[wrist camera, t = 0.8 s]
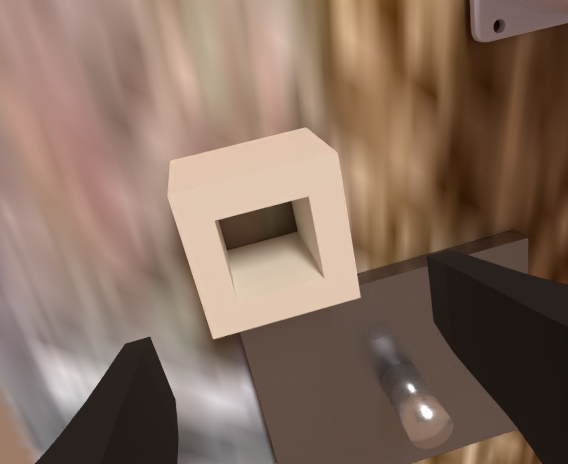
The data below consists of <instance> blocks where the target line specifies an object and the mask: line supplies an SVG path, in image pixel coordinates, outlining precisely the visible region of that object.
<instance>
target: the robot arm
mask: <svg viewBox="0 0 568 464" xmlns="http://www.w3.org/2000/svg"><path fill="white" fill-rule="evenodd" d="M470 16H471V33H472V37H473V38H474V40H476V41H478V42H490V41H494V40H499V39H503V38H507V37H511V36H515V35H520V34H524V33H528V32H532V31H536V30H540V29H545V28H549V27H553V26H557V25H561V24H566V23H568V0H470ZM496 20H498V21H499V23H500V26H499V29H498V31H497V32H495V31H494V29H493V26H494V23H495V21H496ZM427 265H428V274H429V284H430V293H431V303H432V312H433V321H434V323H435V325H436V326H437V328H438V329H439V331H440V333H441V334H442V336H443V338H444V339H445V341H446V342H447V344H448V345H449V347H450V348H451V350H452V351H453V353H454V354H455V355H456V356H457V357H458V359H459V360H460V361H461V362H462V363H463V365H464V366H465V367H466V368H467V369H468V371H469V372H470V373H471V374H472V375H473V376H474V378H475V379H476V380H477V381H478V382H479V383H480V385H481V386H482V387H483V388H484V389H485V390H486V391H487V393H488V394H489V395H490V396H491V397H492V398H493V400H494V401H495V402H496V403H497V404H498V405H499V407H500V408H501V409H502V410H503V411H504V412H505V414H506V415H507V416H508V417H509V418H510V420H511V421H512V422H513V423H514V425H515V426H516V427H517V428H518V430H519V431H520V432H521V434H522V435H523V436H524V438H525V439H526V441H527V442H528V444H529V445H530V446H531V448H532V449H533V451H534V452H535V454H536V455H537V456H538V458H539V459H540V461H541V462H542V464H568V285H565V284H562V283H558V282H554V281H550V280H547V279H543V278H539V277H536V276H532V275H529V274H526V273H522V272H519V271H516V270H513V269H510V268H506V267H503V266H500V265H497V264H494V263H491V262H488V261H485V260H482V259H479V258H476V257H473V256H470V255H467V254H464V253H460V252H457V251H453V250H446V251H442V252H439V253H435V254H432V255H429V256H427ZM177 458H178V424H177V412H176V401H175V398H174V395H173V393H172V390H171V388H170V385H169V383H168V380H167V378H166V375H165V373H164V370H163V368H162V365H161V363H160V360H159V358H158V355H157V353H156V350H155V348H154V345H153V343H152V340H151V338H150V337H147V338H144V339H140V340H137V341H133V342H130V343H127V344H125V345H124V346H123V348H122V349H121V351H120V352H119V354H118V355H117V356H116V358H115V359H114V361H113V362H112V364H111V366H110V367H109V369H108V370H107V372H106V373H105V375H104V376H103V377H102V379H101V380H100V382H99V383H98V385H97V386H96V388H95V389H94V390H93V392H92V393H91V395H90V396H89V398H88V399H87V401H86V402H85V403H84V405H83V406H82V407H81V408H80V410H79V411H78V412H77V414H76V415H75V416H74V418H73V419H72V420H71V421H70V423H69V424H68V425H67V427H66V428H65V429H64V431H63V432H62V433H61V435H60V436H59V437H58V438H57V439H56V441H55V442H54V443H53V444H52V445H51V446H50V448H49V449H48V450H47V451H46V452H45V453H44V454H43V455H42V457H41V458H40V459H39V460H38V461H37V462H36V463H35V464H177Z"/></svg>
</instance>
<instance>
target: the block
mask: <svg viewBox="0 0 568 464" xmlns="http://www.w3.org/2000/svg"><path fill="white" fill-rule="evenodd" d="M168 199H169V202H170V205H171V209H172V212H173V215H174V218H175V221H176V224H177V227H178V231H179V234H180V237H181V240H182V243H183V246H184V249H185V253H186V256H187V259H188V262H189V265H190V268H191V271H192V275H193V278H194V281H195V284H196V287H197V290H198V293H199V296H200V300H201V303H202V306H203V309H204V312H205V315H206V318H207V322H208V325H209V328H210V331H211V334H212V337H213V339H216V338H220V337H224V336H227V335H231V334H234V333H238V332H241V331H245V330H248V329H252V328H255V327H259V326H262V325H266V324H269V323H273V322H276V321H280V320H283V319H287V318H291V317H294V316H298V315H301V314H305V313H308V312H312V311H315V310H319V309H322V308H326V307H329V306H333V305H336V304H340V303H343V302H347V301H350V300H354V299H358V298H361V296H360V290H359V283H358V277H357V271H356V265H355V258H354V252H353V246H352V240H351V233H350V227H349V221H348V215H347V208H346V202H345V196H344V190H343V183H342V177H341V171H340V165H339V158H338V153H337V152H336V151H335V150H333V149H332V148H331V147H330V146H328V145H327V144H326V143H325V142H323V141H322V140H321V139H320V138H318V137H317V136H316V135H315V134H313V133H312V132H311V131H310V130H309V129H307V128H306V127H305V128H301V129H297V130H293V131H289V132H285V133H281V134H277V135H273V136H269V137H265V138H261V139H257V140H253V141H249V142H245V143H241V144H236V145H232V146H228V147H224V148H220V149H216V150H212V151H208V152H204V153H200V154H196V155H192V156H188V157H184V158H180V159H176V160H172V161H170V171H169V183H168ZM289 201H291V202H292V207H293V212H294V216H295V221H296V226H297V231H298V232H294V233H290V234H286V235H283V236H279V237H275V238H271V239H268V240H264V241H260V242H256V243H253V244H249V245H245V246H241V247H238V248H234V249H230V250H227V249H226V245H225V242H224V238H223V234H222V231H221V227H220V224H219V220H220V219H223V218H227V217H231V216H235V215H239V214H243V213H246V212H250V211H254V210H258V209H262V208H266V207H269V206H273V205H277V204H281V203H285V202H289Z"/></svg>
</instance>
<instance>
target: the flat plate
mask: <svg viewBox="0 0 568 464" xmlns="http://www.w3.org/2000/svg"><path fill="white" fill-rule="evenodd" d="M446 250H453V251H457V252H460V253H464V254H467V255H470V256H473V257H476V258H479V259H482V260H485V261H488V262H491V263H494V264H497V265H500V266H503V267H506V268H510V269H513V270H516V271H519V272H522V273H526V274H528V237H526V236H524V235H523V234H521V233H519V232H518V231H516V230H513V231H509V232H506V233H502V234H498V235H495V236H491V237H488V238H484V239H480V240H477V241H473V242H470V243H466V244H463V245H459V246H455V247H452V248H448V249H445V250H441V251H437V252H434V253H430V254H427V255H423V256H419V257H416V258H412V259H409V260H405V261H402V262H398V263H394V264H391V265H387V266H384V267H380V268H376V269H373V270H369V271H366V272H362V273H358V274H357V277H358V283H359V290H360V296H361V298H358V299H354V300H350V301H347V302H343V303H340V304H336V305H333V306H329V307H326V308H322V309H319V310H315V311H312V312H308V313H305V314H301V315H298V316H294V317H291V318H287V319H283V320H280V321H276V322H273V323H269V324H266V325H262V326H259V327H255V328H252V329H248V330H245V331H241V332H240V335H241V338H242V342H243V345H244V349H245V352H246V356H247V359H248V363H249V366H250V370H251V373H252V376H253V380H254V383H255V387H256V390H257V394H258V397H259V401H260V404H261V408H262V411H263V414H264V418H265V421H266V425H267V428H268V432H269V435H270V439H271V442H272V446H273V449H274V452H275V456H276V459H277V463H278V464H410V463H414V462H417V461H420V460H423V459H426V458H429V457H432V456H435V455H439V454H442V453H445V452H448V451H451V450H454V449H457V448H460V447H464V446H467V445H470V444H473V443H476V442H479V441H482V440H485V439H489V438H492V437H495V436H498V435H501V434H504V433H507V432H510V431H514V430H517V429H518V428H517V427H516V426H515V425H514V423H513V422H512V421H511V420H510V418H509V417H508V416H507V415H506V414H505V412H504V411H503V410H502V409H501V408H500V407H499V405H498V404H497V403H496V402H495V401H494V400H493V398H492V397H491V396H490V395H489V394H488V393H487V391H486V390H485V389H484V388H483V387H482V386H481V385H480V383H479V382H478V381H477V380H476V379H475V378H474V376H473V375H472V374H471V373H470V372H469V371H468V369H467V368H466V367H465V366H464V365H463V363H462V362H461V361H460V360H459V359H458V357H457V356H456V355H455V354H454V353H453V351H452V350H451V348H450V347H449V345H448V344H447V342H446V341H445V339H444V338H443V336H442V334H441V333H440V331H439V329H438V328H437V326H436V325H435V323H434V321H433V312H432V303H431V293H430V284H429V274H428V265H427V256H429V255H432V254H435V253H439V252H442V251H446Z"/></svg>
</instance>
